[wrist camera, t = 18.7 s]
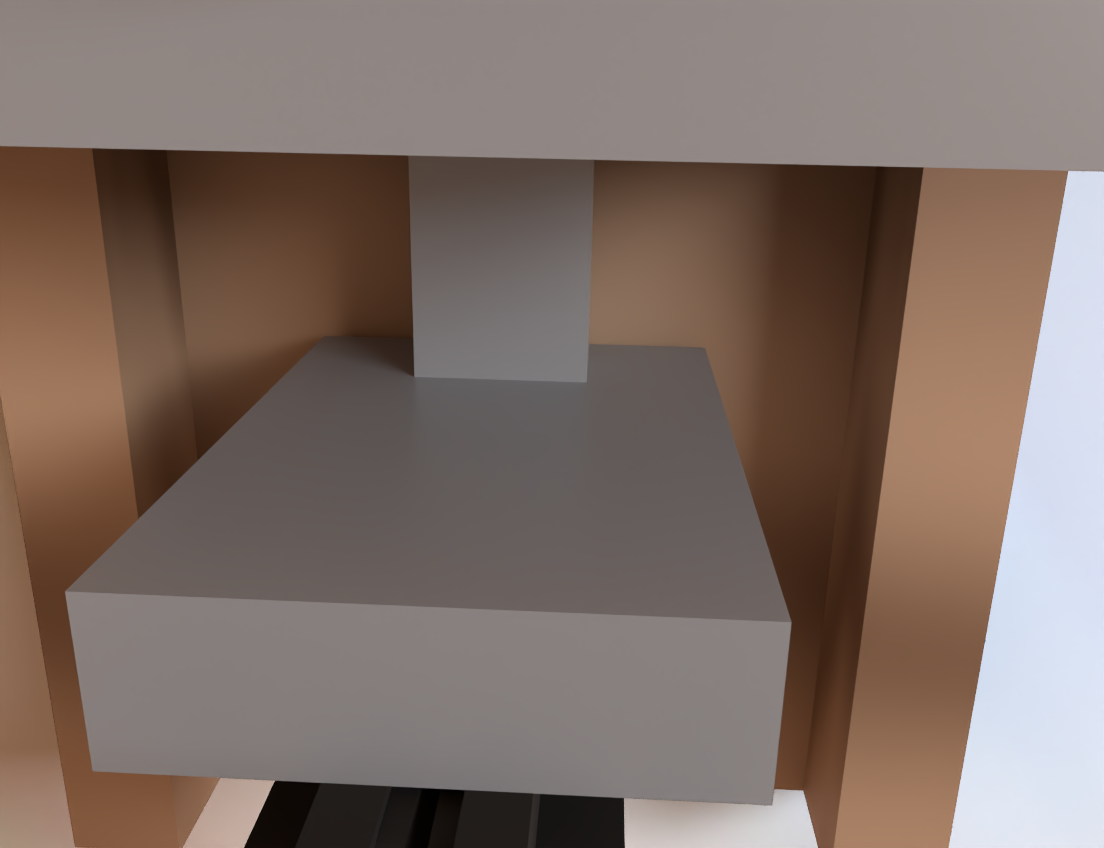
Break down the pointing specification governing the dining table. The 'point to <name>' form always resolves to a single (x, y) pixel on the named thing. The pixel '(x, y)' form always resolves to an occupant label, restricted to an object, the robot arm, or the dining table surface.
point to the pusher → (496, 378)
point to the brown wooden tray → (615, 319)
